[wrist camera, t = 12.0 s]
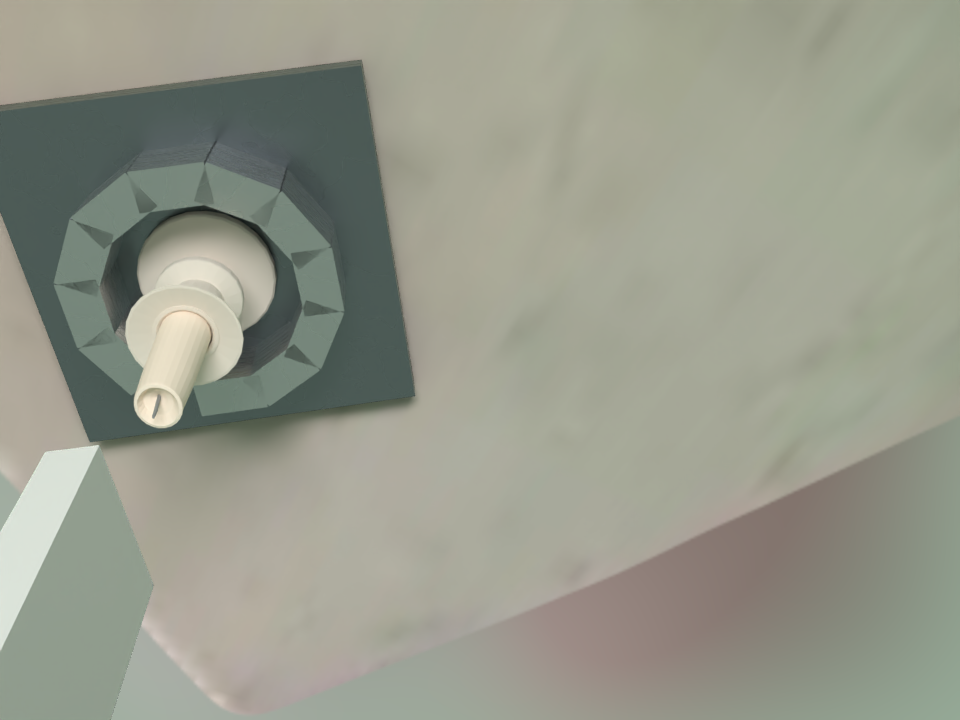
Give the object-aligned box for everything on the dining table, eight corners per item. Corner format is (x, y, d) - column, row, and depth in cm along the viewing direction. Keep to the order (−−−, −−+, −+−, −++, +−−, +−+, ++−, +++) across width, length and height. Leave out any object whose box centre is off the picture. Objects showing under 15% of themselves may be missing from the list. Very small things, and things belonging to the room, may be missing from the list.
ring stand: (-27, 108, 32) (-68, 135, 29) (361, 59, 33) (360, 80, 30) (96, 429, 39) (73, 477, 36) (414, 384, 40) (417, 428, 37)
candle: (110, 267, 35) (20, 414, 26) (205, 182, 34) (145, 304, 25) (212, 355, 37) (162, 517, 28) (304, 278, 36) (283, 422, 27)
